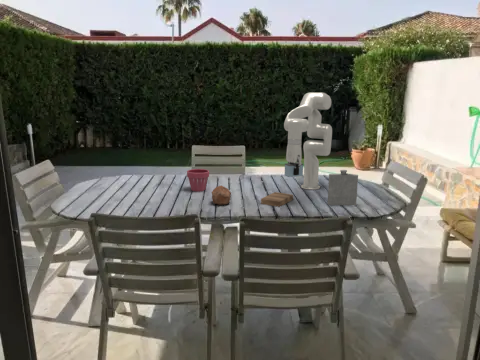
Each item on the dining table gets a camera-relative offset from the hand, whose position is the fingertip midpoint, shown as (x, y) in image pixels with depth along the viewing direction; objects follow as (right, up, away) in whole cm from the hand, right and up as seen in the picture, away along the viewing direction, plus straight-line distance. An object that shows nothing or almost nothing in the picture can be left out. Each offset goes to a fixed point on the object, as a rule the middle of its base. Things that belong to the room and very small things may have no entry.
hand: (293, 173), depth 230 cm
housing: (0, -1, 0) cm, 1 cm away
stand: (-9, -16, +7) cm, 20 cm away
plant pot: (-58, -10, +33) cm, 67 cm away
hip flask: (+28, -18, +1) cm, 33 cm away
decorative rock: (-41, -17, +3) cm, 45 cm away
